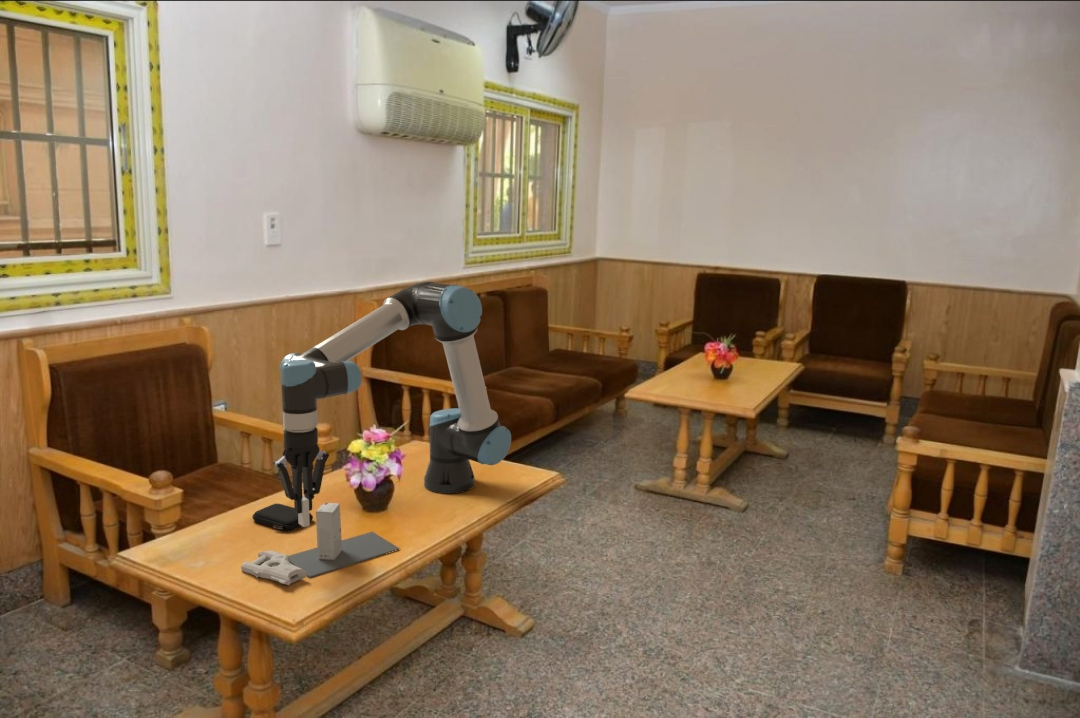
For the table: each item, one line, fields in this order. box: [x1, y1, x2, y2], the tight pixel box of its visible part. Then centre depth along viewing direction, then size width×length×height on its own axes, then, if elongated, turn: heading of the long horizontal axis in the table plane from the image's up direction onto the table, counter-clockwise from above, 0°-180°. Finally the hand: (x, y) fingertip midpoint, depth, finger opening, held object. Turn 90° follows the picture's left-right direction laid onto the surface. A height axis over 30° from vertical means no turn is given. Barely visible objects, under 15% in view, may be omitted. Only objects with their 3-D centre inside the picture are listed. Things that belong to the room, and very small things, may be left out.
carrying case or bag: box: [252, 503, 314, 532], centre depth 222 cm, size 11×3×15 cm
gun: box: [240, 549, 307, 586], centre depth 193 cm, size 18×4×10 cm
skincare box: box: [315, 502, 342, 560], centre depth 201 cm, size 6×4×12 cm
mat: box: [288, 531, 401, 579], centre depth 204 cm, size 24×13×1 cm, turn 132°
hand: (304, 524), depth 196 cm, fingers closed
